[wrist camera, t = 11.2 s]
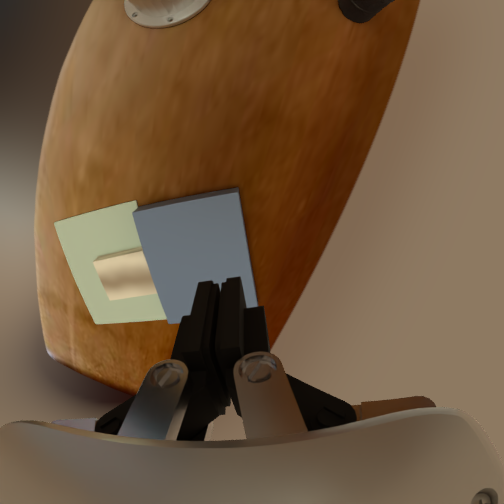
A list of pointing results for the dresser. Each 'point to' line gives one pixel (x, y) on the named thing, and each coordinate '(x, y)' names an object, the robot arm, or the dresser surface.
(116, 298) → the birch block
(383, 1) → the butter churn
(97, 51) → the dresser surface
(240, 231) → the slate blue tile
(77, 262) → the mat
